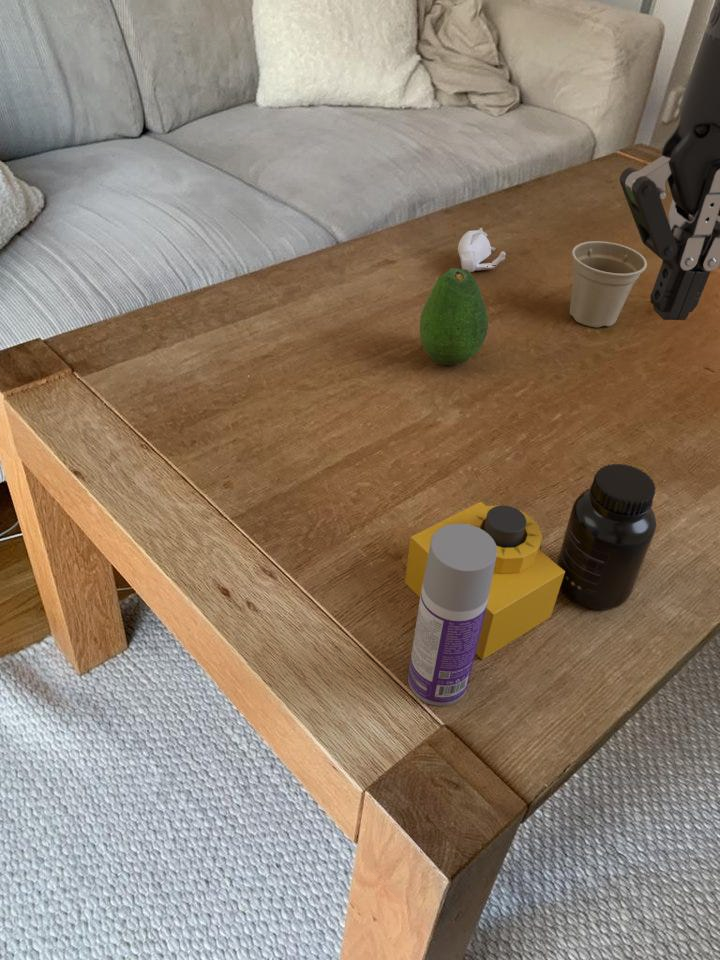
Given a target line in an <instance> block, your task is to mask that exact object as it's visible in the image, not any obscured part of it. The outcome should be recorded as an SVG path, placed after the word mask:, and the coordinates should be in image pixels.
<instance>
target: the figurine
mask: <svg viewBox="0 0 720 960" xmlns="http://www.w3.org/2000/svg"><path fill="white" fill-rule="evenodd" d="M487 236H488V234H487V233H486V232H485V231H484V228H483V227H479V229H476V230H468V231H467V232H466V233H464V234H463V235H462V237H461V238H460V240H459V242H458V247H457V252H458V256H459V259H460V265H461V269H465V270H468V271H469V272H470V273H474V272H479V271H489V270H493V269H495V268H496V267H497V266H498V265H499V264H500V263H502V262H504V261H505V260H506V252H505V251H501V252H500V253H499V255H498V257H496V258H495V259H494V260H493V261H491V262H492V263H490V262H484V263H483V261H484V260H486V259H487V258H488V257H490V255H491V254H492V252H495V251H496V247H493V246H491V243H490V240H489V238H488V237H487ZM481 262H482V263H481ZM492 265H496V266H492ZM487 266H488V267H487Z"/></svg>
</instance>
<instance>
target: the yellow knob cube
mask: <svg viewBox="0 0 720 960" xmlns="http://www.w3.org/2000/svg"><path fill="white" fill-rule="evenodd" d="M496 506H497V505H486V504H485V503H484V502H483V501H480V502H476V503H475V504H473V505H471V506H469V507H467V508H465V509H463V510H461V511H459V512H457V513H454V514H453V515H451V516H449V517H447V518H445V519H443V520H441V521H440V522H436V523H435V524H433V525H431V526H429V527H427V528H425V529H423V530H421V531H420V532H417V533H415V534H413V535H411V536H410V539H409V548H408V553H407V563H406V569H405V570H406V571H405V576H404V577H405V578H404V583H405V585H406V586H407V587H408V588H409V589H410V590H411V591H412V592H414V594H416V596H418V598H420V596H421V589H422V585H423V580H424V574H425V569H426V564H427V559H428V554H429V549H430V544H431V539H432V537H433V535H434V534H435V532H436V531H437V530H439V529H440V528H442V527H444V526H447V525H450V524H468V525H472V526H475V527H478V528H480V529H482V530H484V526H485V521H486V516H487V513H488V511H489V510H490V509H492V508H493V507H496ZM502 506H505V505H503V504H502ZM518 510H519V511H521V512H522V513H523V514H524V516H525V518H526V527H525V531H524V535H523V539H522V541H521V542H520V544H518V545H517V546H515V547H511V548H502V547H499V546H497V556H496V561H495V566H494V572H493V577H492V582H491V587H490V592H489V597H488V603H487V607H486V611H485V615H484V620H483V624H482V628H481V632H480V636H479V640H478V645H477V649H476V653H475V655H476V656H477V657H479V659H481V660H482V661H483V660H486V659H487V658H488V657H490V656H491V655H492V654H494V653H496V652H497V651H498V650H501V649H502V648H504V647H506V646H507V645H509V644H510V643H511V642H514V641H515V640H516V639H518V638H520V637H521V636H523V635H525V634H526V633H528V632H529V631H531V630H532V629H534V628H535V627H537V626H539V625H540V624H542V623H543V622H545V621H547V620H549V619H550V618H552V615H553V611H554V608H555V605H556V601H557V599H558V595H559V592H560V590H561V589H560V586H561V583H562V580H563V577H564V574H565V571H564V570H563V569H562V568H560V567H559V566H558V565H557V562H554V561H553V560H552V559H551V558H550V557H548V555H546V554H545V553H544V552H543V551H542V550H540V549H541V544H542V541H543V535H542V532H541V528H540V527H539V524H538V522H537V521H536V520H534V519H533V518H532V517H531V516H530V515H528V514H527V513H526V512H524V511H522V510H520V509H518Z"/></svg>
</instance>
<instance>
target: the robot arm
mask: <svg viewBox="0 0 720 960" xmlns="http://www.w3.org/2000/svg"><path fill="white" fill-rule="evenodd" d="M667 183H668V186H669V190H670V194H671V197H672V200H671V203H670V207H669V210H668V215H667V214H666V210H665V208H664V204H663V202H662V201H664V200H665V199H666V198H667V197H668V194H667V191H668V187H667ZM619 184H620V186H621V189H622V191H623V195H624V197H625V199H626V202H627V205H628V207H629V209H630V213H631V214H632V218H633V221H634V223H635V227H636V229H637V232H638V234H639V236H640V239H641V242H642V244H643V245H644V246H646V248H648V249H649V250H650V251H651V252H652V253H654V254H655V255H656V256H657V257H658V258H660V260H662V262H661V265H660V269H659V271H658V273H657V276H656V279H655V282H654V284H653V288H652V291H651V293H650V304H652V309H653V311H654V312H655V313H656V314H657V315H658V316H659V317H660V318H661V319H662V320H663V321H685V320H686V319H688V317H689V314H690V313H693V312H694V310H695V309H696V308H697V306H698V304H699V302H700V299H701V298H702V297H701V296H702V294H703V293H704V289H705V288H706V284H707V283H708V279H709V277H710V274H711V273H712V272H713V271H715V270H716V269H717V268H718V267H719V266H720V0H714V2H713V4H712V8H711V10H710V13H709V17H708V20H707V23H706V26H705V29H704V32H703V35H702V38H701V41H700V44H699V47H698V49H697V53H696V56H695V59H694V62H693V65H692V68H691V71H690V75H689V76H688V80H687V83H686V86H685V89H684V92H683V95H682V99H681V101H680V112H679V120H678V123H677V125H676V128H675V129H674V131H673V132H672V133H671V135H670V136H669V137H668V138H667V140H666V141H665V142H664V144H663V147H662V149H661V155H660V156H659V157H658V158H656V159H655V160H653V161H652V162H650V163H648V164H647V165H645V166H643V167H642V168H641V169H637V168H635V167H627V168H625V169H623V171H622V172H621V173H620V175H619Z"/></svg>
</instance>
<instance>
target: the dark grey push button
mask: <svg viewBox="0 0 720 960" xmlns="http://www.w3.org/2000/svg"><path fill="white" fill-rule="evenodd" d="M495 506H496V507H493V508H492V509H490V510H489V511H488V513H487V516H486V521H485V526H484V531H485V532H487V533H488V534H489V535H490V536H491V537H492V538H493V540H494V541H495V543H496V546H499V547H502V548H511V547H515V546H517V545H518V544H520V542H521V541H522V539H523V535H524V531H525V527H526V518H525V516H524V514H523V513H522V512H523V511H522V510H520V509H518V508H515V507H514V506H510V505H504V506H503V505H495ZM519 510H520V511H519ZM521 511H522V512H521Z"/></svg>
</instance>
